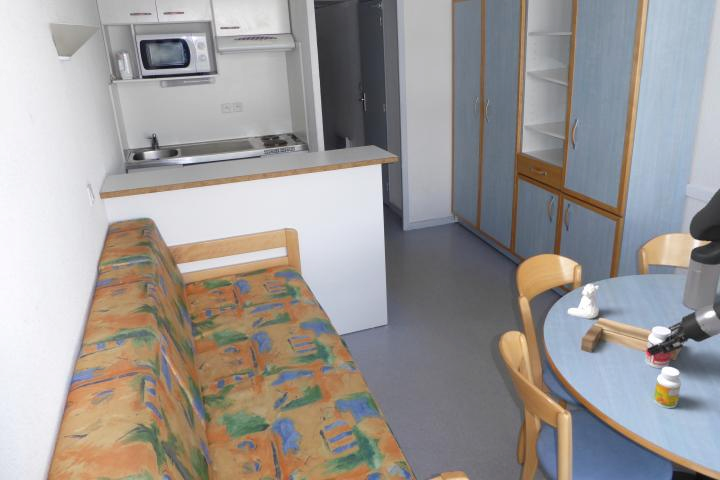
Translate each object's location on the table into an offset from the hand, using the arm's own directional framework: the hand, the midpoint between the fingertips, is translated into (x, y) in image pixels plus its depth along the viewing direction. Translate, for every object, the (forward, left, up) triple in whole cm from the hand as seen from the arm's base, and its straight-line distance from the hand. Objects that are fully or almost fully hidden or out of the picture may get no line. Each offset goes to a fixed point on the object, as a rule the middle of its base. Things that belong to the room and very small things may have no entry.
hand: (652, 346), depth 160 cm
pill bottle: (0, +2, -5) cm, 5 cm away
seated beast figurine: (-18, -24, -5) cm, 30 cm away
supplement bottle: (+17, +8, -5) cm, 20 cm away
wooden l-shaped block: (-4, -6, -5) cm, 9 cm away
